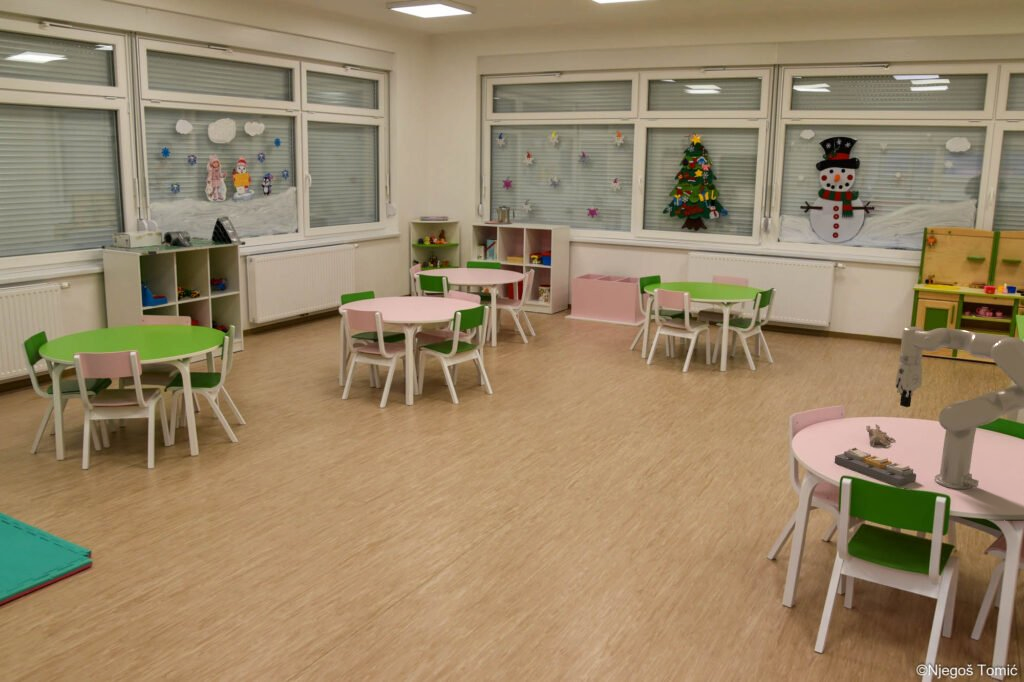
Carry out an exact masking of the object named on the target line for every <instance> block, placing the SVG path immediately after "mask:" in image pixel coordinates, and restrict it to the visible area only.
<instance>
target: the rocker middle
mask: <svg viewBox="0 0 1024 682" xmlns="http://www.w3.org/2000/svg"><path fill="white" fill-rule="evenodd" d="M869 460H872V461H875V462H877V463H882V462H885V461H889V459H888V458H887V457H879V458H872V459H869Z"/></svg>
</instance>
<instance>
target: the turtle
mask: <svg viewBox="0 0 1024 682" xmlns="http://www.w3.org/2000/svg"><path fill="white" fill-rule="evenodd" d="M866 432H867V433H868V438H869V446H870V448H871V447H872V448H873V447H874V445H883V446H886V447H890V446H891V445H892V444H891V442H890V441H893V442H896V439H895V438H893V437H890V436H889V435H888V433H887V432H886V431H882V430H881V426H880V425H879V424H875V428H871V425H866Z"/></svg>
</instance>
